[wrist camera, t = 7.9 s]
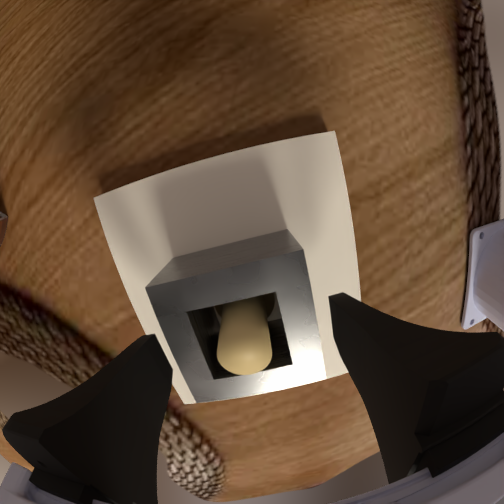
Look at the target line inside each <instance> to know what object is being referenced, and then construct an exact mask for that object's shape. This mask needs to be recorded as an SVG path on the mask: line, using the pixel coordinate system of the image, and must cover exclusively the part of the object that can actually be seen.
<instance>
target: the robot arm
mask: <svg viewBox="0 0 504 504" xmlns="http://www.w3.org/2000/svg"><path fill="white" fill-rule="evenodd" d="M328 298H329V306H330V313H331V322H332V330H333V338H334V341H335V343H336V346H337V349H338V351H339V354H340V357H341V359H342V361H343V363H344V365H345V366H346V368H347V370H348V372H349V374H350V376H351V378H352V380H353V382H354V384H355V385H356V387H357V389H358V391H359V393H360V395H361V397H362V399H363V402H364V404H365V406H366V409H367V412H368V415H369V417H370V420H371V423H372V426H373V429H374V432H375V435H376V438H377V441H378V445H379V448H380V452H381V455H382V459H383V462H384V466H385V470H386V474H387V478H388V482H389V485H386V486H383V487H381V488H378V489H375V490H372V491H369V492H367V493H363V494H360V495H357V496H354V497H350V498H347V499H343V500H340V501H336V502H332V503H328V504H495V503H496V502H498V501H499V500H500V499H501V498H503V497H504V391H503V388H504V338H503V337H502V336H501V335H500V334H499V333H498V332H481V333H467V332H453V331H445V330H439V329H434V328H428V327H424V326H420V325H416V324H413V323H410V322H406V321H403V320H400V319H397V318H395V317H393V316H390V315H388V314H385V313H383V312H381V311H379V310H376V309H374V308H372V307H370V306H368V305H366V304H364V303H363V302H361V301H359V300H357V299H355V298H353V297H351V296H350V295H348V294H346V293H344V292H342V293H338V294H334V295H331V296H328ZM486 318H489V319H490V320H491V321H492V322H493V323H495V324H496V325H497V326H498V327H499V328H501V329H502V330H503V331H504V219H502V220H499V221H496V222H493V223H490V224H487V225H484V226H481V227H478V228H475V229H473V230H472V232H471V234H470V247H469V266H468V278H467V288H466V296H465V304H464V311H463V317H462V323H461V327H462V328H463V329H468V328H469V327H471V326H473V325H475V324H477V323H479V322H480V321H482V320H484V319H486ZM172 377H173V368H172V366H171V365H170V363H169V361H168V359H167V357H166V355H165V353H164V351H163V349H162V347H161V345H160V343H159V341H158V339H157V337H156V335H155V334H149V335H143V336H141V337H140V338H138V339H137V340H136V341H134V342H133V343H132V344H131V345H129V346H128V347H127V348H126V349H125V350H124V351H122V352H121V353H120V354H119V355H118V356H117V357H116V358H114V359H113V360H112V361H111V362H110V363H109V364H107V365H106V366H105V367H104V368H102V369H101V370H100V371H99V372H97V373H96V374H95V375H94V376H92V377H91V378H90V379H88V380H87V381H85V382H84V383H82V384H81V385H79V386H78V387H76V388H74V389H73V390H71V391H69V392H67V393H66V394H64V395H62V396H60V397H58V398H56V399H54V400H52V401H49V402H47V403H45V404H42V405H40V406H37V407H34V408H31V409H28V410H24V411H20V412H16V413H14V414H13V415H12V416H11V417H10V419H9V420H8V422H7V423H6V425H5V426H4V428H3V429H2V431H3V435H4V437H5V438H6V440H7V441H8V442H9V444H10V445H11V446H12V447H13V448H14V449H15V450H16V451H17V452H18V453H19V454H20V455H21V456H22V457H23V458H24V459H25V460H27V461H28V462H29V463H30V464H31V465H32V466H33V467H35V468H34V470H33V472H31V471H30V470H28V469H26V468H25V467H22V466H20V465H18V464H16V463H14V462H12V464H11V466H10V468H9V470H8V472H7V473H6V475H5V477H4V480H3V482H2V484H1V486H0V504H158V500H157V455H158V445H159V437H160V431H161V427H162V423H163V419H164V415H165V412H166V408H167V404H168V400H169V396H170V392H171V386H172Z"/></svg>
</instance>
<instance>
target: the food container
mask: <svg viewBox="0 0 504 504" xmlns="http://www.w3.org/2000/svg"><path fill="white" fill-rule="evenodd" d="M7 221H8V216H6V215H5V214H3V213H2V212H0V246H1V244H2V242H3V239H4V236H5V232H6V228H7Z"/></svg>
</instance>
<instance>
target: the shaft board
mask: <svg viewBox="0 0 504 504" xmlns="http://www.w3.org/2000/svg"><path fill="white" fill-rule="evenodd" d="M94 201H95V204H96V208H97V211H98V214H99V218H100V221H101V224H102V227H103V230H104V233H105V236H106V239H107V242H108V245H109V248H110V250H111V253H112V256H113V258H114V261H115V264H116V266H117V269H118V272H119V274H120V277H121V279H122V282H123V284H124V286H125V289H126V291H127V294H128V296H129V298H130V301H131V303H132V305H133V307H134V310H135V312H136V314H137V316H138V318H139V321H140V323H141V325H142V327H143V329H144V331H145V333H146V335H149V334H155V335H156V337H157V339H158V341H159V343H160V345H161V347H162V349H163V351H164V353H165V355H166V357H167V359H168V361H169V363H170V365H171V366H172V368H173V377H172V384H173V386H174V387H175V389H176V391H177V393H178V394H179V396H180V398H181V399H182V401H183V402H184V404H192V403H196V401H195V399H194V397H193V395H192V393H191V392H190V390H189V388H188V386H187V384H186V382H185V380H184V378H183V376H182V374H181V371H180V369H179V367H178V365H177V363H176V361H175V359H174V357H173V354H172V352H171V350H170V348H169V346H168V343H167V341H166V339H165V337H164V334H163V332H162V330H161V327H160V325H159V322H158V320H157V318H156V315H155V313H154V310H153V308H152V305H151V303H150V300H149V297H148V295H147V292H146V289H145V287H146V286H147V285H148V284H149V283H150V281H151V280H152V279H153V278H154V277H155V276H156V275H157V274H158V273H159V272H160V271H161V270H162V269H163V268H164V267H165V266H166V265H167V264H168V263H169V261H170V260H171V259H172V258H174V257H178V256H182V255H185V254H189V253H193V252H197V251H201V250H205V249H209V248H213V247H217V246H221V245H225V244H229V243H233V242H237V241H241V240H245V239H249V238H253V237H257V236H261V235H265V234H269V233H273V232H277V231H281V230H285V229H288V230H289V231H290V233H291V234H292V235H293V236H294V238H295V239H296V240H297V241H298V243H299V244H300V245H301V247H302V248H303V249H304V254H305V258H306V263H307V268H308V273H309V279H310V284H311V289H312V294H313V300H314V305H315V311H316V317H317V323H318V329H319V335H320V341H321V347H322V353H323V360H324V367H325V374H326V379H328V378H331V377H335V376H338V375H342V374H345V373H348V370H347V368H346V366H345V365H344V363H343V361H342V359H341V357H340V354H339V351H338V349H337V346H336V343H335V341H334V338H333V330H332V322H331V313H330V306H329V298H328V296H331V295H334V294H338V293H342V292H344V293H346V294H348V295H350V296H351V297H353V298H355V299H357V300H359V301H361V296H360V283H359V273H358V263H357V254H356V246H355V238H354V230H353V223H352V217H351V210H350V204H349V198H348V192H347V187H346V181H345V176H344V171H343V166H342V161H341V157H340V152H339V147H338V143H337V139H336V135H335V131H331V132H325V133H318V134H313V135H307V136H301V137H296V138H291V139H286V140H281V141H276V142H272V143H267V144H263V145H258V146H254V147H250V148H245V149H241V150H237V151H233V152H230V153H226V154H222V155H218V156H215V157H211V158H207V159H204V160H200V161H197V162H194V163H190V164H187V165H184V166H180V167H177V168H174V169H171V170H168V171H165V172H162V173H159V174H156V175H153V176H150V177H147V178H144V179H142V180H139V181H136V182H133V183H130V184H128V185H125V186H122V187H120V188H117V189H115V190H112V191H110V192H107V193H105V194H102V195H100V196H97V197H95V198H94ZM214 309H215V312H216V315H217V318H218V321H219V324H220V333H219V340H218V348H217V358H218V361H219V363H220V364H221V366H222V367H223V368H225V369H226V370H228V371H229V372H232V373H234V374H239V375H250V374H255V373H258V372H260V371H262V370H263V369H264V368H266V367H267V366H268V364H269V363H270V361H271V358H272V349H271V341H270V334H269V327H268V321H272V320H276V319H280V318H282V315H281V311H280V307H279V303H278V299H277V294H276V292H272V293H268V294H264V295H259V296H255V297H251V298H247V299H242V300H238V301H233V302H229V303H224V304H220V305H215V306H214ZM322 380H324V379H322ZM319 381H320V380H319ZM315 382H316V381H315ZM311 383H313V382H311ZM307 384H309V383H307ZM303 385H305V384H303ZM299 386H301V385H299ZM295 387H296V386H295ZM290 388H292V387H290ZM286 389H288V388H286ZM281 390H283V389H281ZM277 391H278V390H277ZM272 392H273V391H272ZM267 393H268V392H267ZM262 394H263V393H262ZM256 395H258V394H256ZM250 396H252V395H250ZM245 397H246V396H245ZM238 398H240V397H238ZM232 399H233V398H232ZM225 400H226V399H225ZM218 401H219V400H218ZM210 402H211V401H210ZM201 403H202V402H201Z"/></svg>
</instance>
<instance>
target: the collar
mask: <svg viewBox="0 0 504 504" xmlns="http://www.w3.org/2000/svg"><path fill="white" fill-rule="evenodd" d="M145 289H146V292H147V295H148V297H149V300H150V303H151V305H152V308H153V310H154V313H155V315H156V318H157V320H158V322H159V325H160V327H161V330H162V332H163V334H164V337H165V339H166V341H167V343H168V346H169V348H170V350H171V352H172V354H173V357H174V359H175V361H176V363H177V365H178V367H179V369H180V371H181V374H182V376H183V378H184V380H185V382H186V384H187V386H188V388H189V390H190V392H191V393H192V395H193V397H194V399H195V401H196V403H201V402H210V401H218V400H225V399H232V398H238V397H245V396H250V395H256V394H262V393H267V392H272V391H277V390H281V389H286V388H290V387H295V386H299V385H303V384H307V383H311V382H315V381H319V380H322V379H326V374H325V367H324V360H323V353H322V347H321V341H320V335H319V329H318V323H317V317H316V311H315V305H314V300H313V294H312V289H311V284H310V279H309V273H308V268H307V263H306V258H305V254H304V249H303V248H302V247H301V245H300V244H299V243H298V241H297V240H296V239H295V238H294V236H293V235H292V234H291V233H290V231H289V230H288V229H285V230H281V231H277V232H273V233H269V234H265V235H261V236H257V237H253V238H249V239H245V240H241V241H237V242H233V243H229V244H225V245H221V246H217V247H213V248H209V249H205V250H201V251H197V252H193V253H189V254H185V255H182V256H178V257H174V258H172V259H171V260H170V261H169V263H168V264H167V265H166V266H165V267H164V268H163V269H162V270H161V271H160V272H159V273H158V274H157V275H156V276H155V277H154V278H153V279H152V280H151V281H150V283H149V284H148V285H147V286H146V287H145ZM272 292H276V294H277V299H278V303H279V307H280V311H281V315H282V318H280V319H276V320H272V321H268V327H269V334H270V341H271V349H272V358H271V361H270V363H269V364H268V366H267V367H266V368H264V369H263V370H262V371H260V372H258V373H255V374H250V375H239V374H234V373H232V372H229V371H228V370H226V369H225V368H223V367H222V366H221V364H220V363H219V361H218V358H217V348H218V340H219V333H220V324H219V321H218V318H217V315H216V312H215V309H214V306H215V305H220V304H224V303H229V302H233V301H238V300H242V299H247V298H251V297H255V296H259V295H264V294H268V293H272Z"/></svg>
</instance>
